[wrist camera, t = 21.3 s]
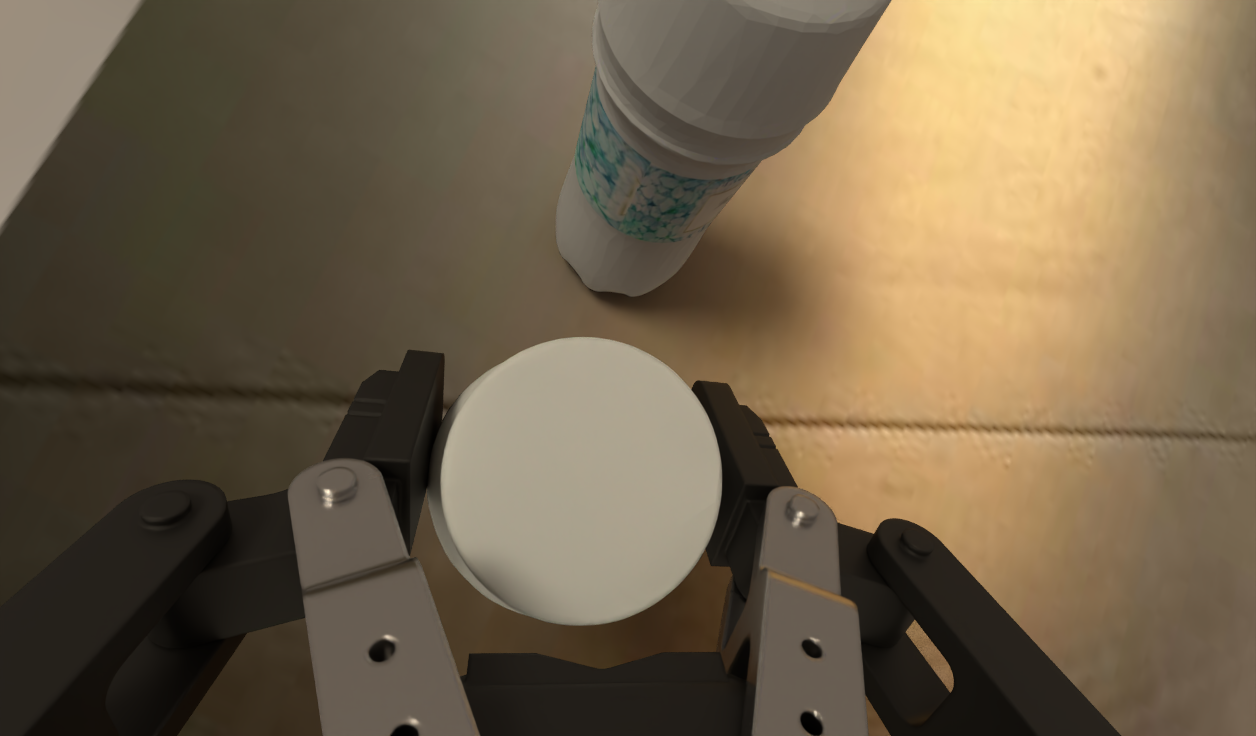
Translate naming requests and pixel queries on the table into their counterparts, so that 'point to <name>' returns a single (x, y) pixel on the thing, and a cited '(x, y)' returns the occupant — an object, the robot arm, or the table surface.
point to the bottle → (691, 121)
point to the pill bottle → (576, 481)
